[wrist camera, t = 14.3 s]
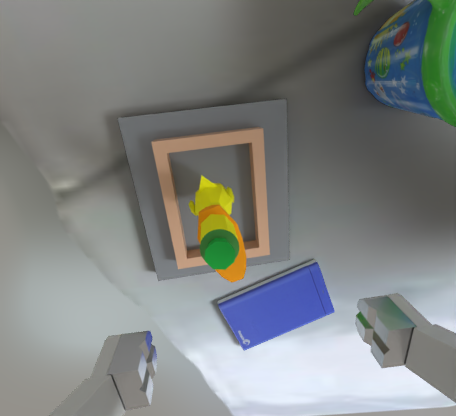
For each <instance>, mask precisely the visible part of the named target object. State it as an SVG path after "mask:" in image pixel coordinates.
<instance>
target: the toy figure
mask: <svg viewBox="0 0 456 416" xmlns="http://www.w3.org/2000/svg"><path fill="white" fill-rule="evenodd" d="M232 202H233V203H234V195H233V192H232V189H231V188H230V187H227V190H226V188H225V187H224V186H223V185H222V184H221V183H212V182H211V181H209V180H208V179H206V178H205V177H203V176H202V175H201V181H200V187H199V190H198V191H197V192H196V194H195V204H194V202H193V201H191V200H190V202H189V207H190V210H191V212H192V213H193V214H194V215H195V216H197V215H198V236H197V239H198V241H199V243H200V253H201V256H202V258H203V259H204V260H205V262H206V263H207V264H208V265H209V266H210V267H211V268H212V269H215V270H216V271H217V272H218V273H219V274H220V275H221V276H222V277H223V278H225V279H227V280H228V281H230V282H235V281H237V280H240V279H243V278H244V274H245V271H246V252H245V248H244V243H243V239H242V236H241V233H240V230H239V227H238V225H237V223H236V222H235V221H234V220H233V219H232V218H231V216H230V214H231V211H232Z"/></svg>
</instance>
